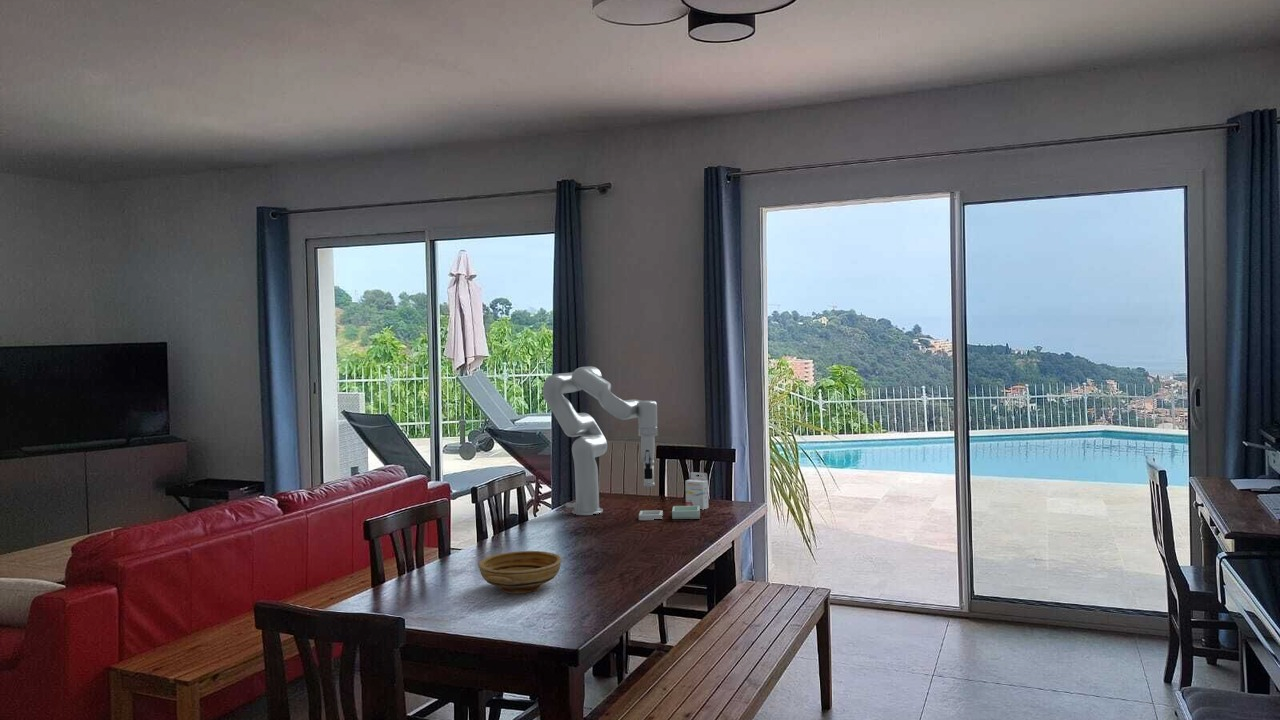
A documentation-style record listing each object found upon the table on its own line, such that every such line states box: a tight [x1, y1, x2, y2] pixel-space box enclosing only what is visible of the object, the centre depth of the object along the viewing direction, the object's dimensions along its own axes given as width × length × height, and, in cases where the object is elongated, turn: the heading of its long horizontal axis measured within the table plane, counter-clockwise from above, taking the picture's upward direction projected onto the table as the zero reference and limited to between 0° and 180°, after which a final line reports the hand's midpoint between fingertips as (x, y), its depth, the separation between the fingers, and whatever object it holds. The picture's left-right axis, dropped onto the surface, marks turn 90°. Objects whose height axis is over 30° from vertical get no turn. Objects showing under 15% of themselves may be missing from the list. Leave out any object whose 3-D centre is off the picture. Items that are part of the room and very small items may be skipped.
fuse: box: [642, 459, 656, 488], centre depth 350 cm, size 4×4×10 cm
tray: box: [671, 505, 701, 519], centre depth 349 cm, size 11×11×4 cm
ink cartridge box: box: [684, 471, 709, 511], centre depth 366 cm, size 9×5×15 cm, turn 58°
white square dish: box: [638, 509, 664, 521], centre depth 350 cm, size 9×9×2 cm
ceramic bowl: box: [477, 550, 563, 594], centre depth 256 cm, size 30×24×8 cm
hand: (648, 477), depth 350 cm, fingers closed on fuse, 4 cm apart
